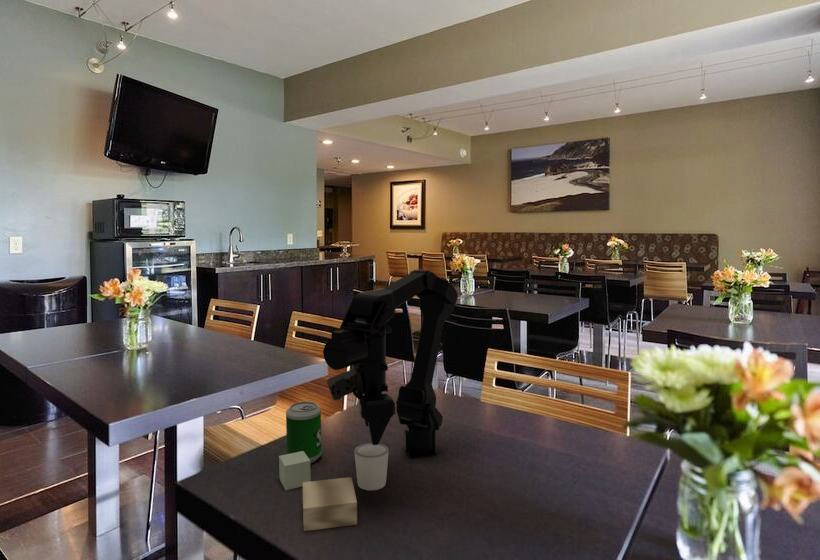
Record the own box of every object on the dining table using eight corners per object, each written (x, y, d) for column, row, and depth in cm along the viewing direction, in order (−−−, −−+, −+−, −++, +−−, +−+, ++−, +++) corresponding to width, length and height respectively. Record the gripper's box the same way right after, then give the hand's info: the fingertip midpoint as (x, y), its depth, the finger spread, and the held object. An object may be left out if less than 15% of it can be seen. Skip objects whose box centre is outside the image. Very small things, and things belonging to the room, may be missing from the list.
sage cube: (303, 474, 104) (303, 450, 103) (310, 484, 99) (310, 460, 99) (279, 479, 101) (278, 455, 101) (285, 490, 97) (284, 466, 96)
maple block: (351, 497, 94) (351, 477, 94) (357, 524, 86) (356, 502, 85) (303, 502, 92) (302, 482, 92) (303, 531, 84) (303, 508, 83)
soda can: (313, 468, 106) (312, 413, 105) (281, 464, 108) (279, 410, 106) (326, 452, 113) (325, 401, 112) (295, 449, 115) (294, 399, 114)
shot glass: (362, 495, 95) (362, 460, 94) (349, 479, 101) (349, 446, 100) (394, 486, 98) (394, 452, 98) (380, 472, 104) (380, 439, 104)
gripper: (326, 349, 105) (327, 421, 106) (332, 374, 86) (334, 460, 88) (379, 346, 107) (379, 416, 109) (395, 370, 89) (396, 454, 90)
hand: (371, 435), depth 99 cm, fingers open, 9 cm apart
